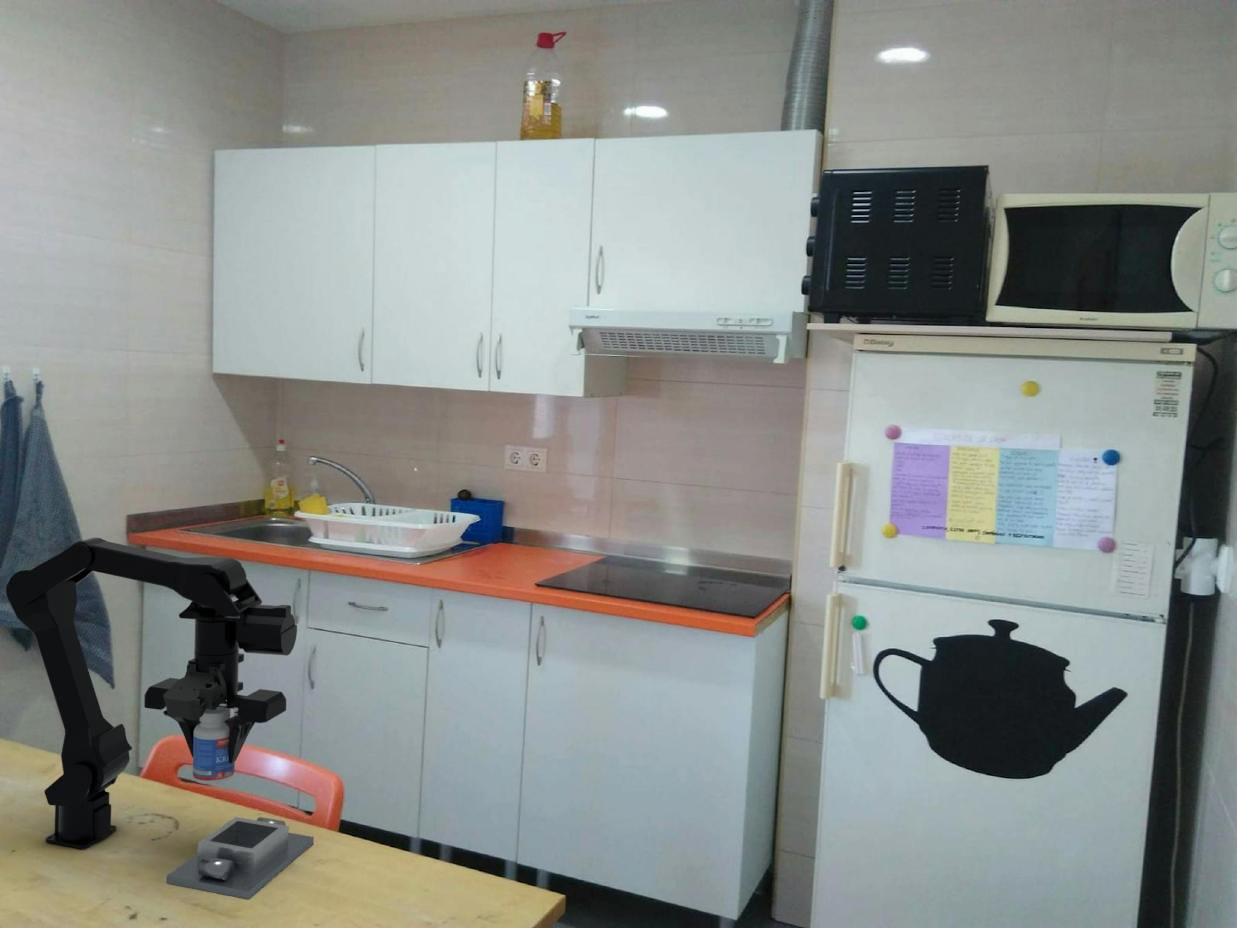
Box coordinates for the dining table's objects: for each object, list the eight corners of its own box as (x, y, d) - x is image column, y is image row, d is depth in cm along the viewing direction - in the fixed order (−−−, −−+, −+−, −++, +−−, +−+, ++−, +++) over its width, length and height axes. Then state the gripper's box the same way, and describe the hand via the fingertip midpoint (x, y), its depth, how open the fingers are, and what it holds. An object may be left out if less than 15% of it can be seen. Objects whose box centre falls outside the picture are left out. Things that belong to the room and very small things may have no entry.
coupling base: (166, 882, 126) (167, 853, 126) (239, 830, 142) (240, 803, 142) (248, 898, 124) (249, 868, 124) (313, 843, 139) (314, 816, 139)
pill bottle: (219, 787, 132) (220, 717, 132) (184, 782, 133) (184, 713, 133) (242, 772, 138) (243, 705, 137) (208, 768, 139) (208, 701, 138)
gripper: (116, 658, 128) (114, 772, 129) (243, 673, 125) (240, 791, 126) (171, 638, 139) (169, 743, 140) (289, 651, 135) (286, 760, 137)
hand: (214, 759), depth 135 cm, fingers closed on pill bottle, 5 cm apart
